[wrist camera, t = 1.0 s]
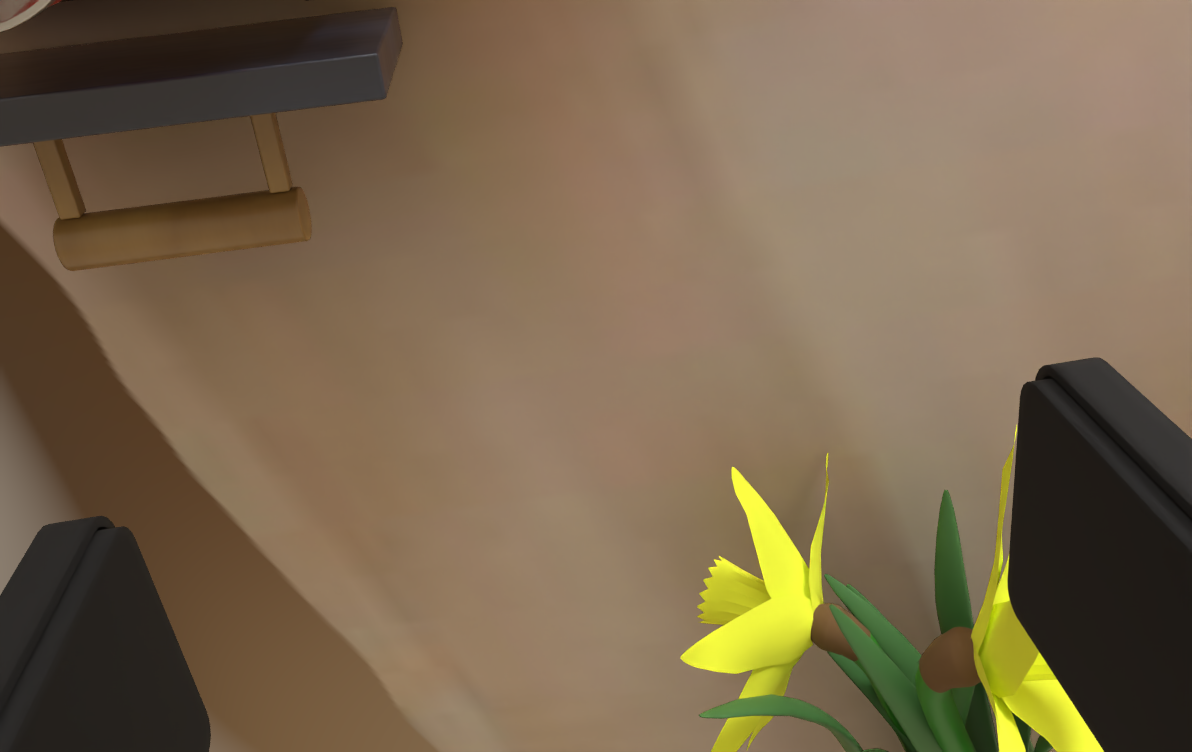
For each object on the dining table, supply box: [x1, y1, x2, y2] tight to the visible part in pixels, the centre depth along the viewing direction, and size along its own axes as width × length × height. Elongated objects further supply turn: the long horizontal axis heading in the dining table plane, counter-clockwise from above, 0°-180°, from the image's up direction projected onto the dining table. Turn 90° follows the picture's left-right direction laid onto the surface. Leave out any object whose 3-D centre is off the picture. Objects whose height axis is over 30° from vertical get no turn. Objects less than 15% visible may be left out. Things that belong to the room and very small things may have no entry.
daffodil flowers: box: [681, 426, 1104, 752], centre depth 43 cm, size 17×15×35 cm
